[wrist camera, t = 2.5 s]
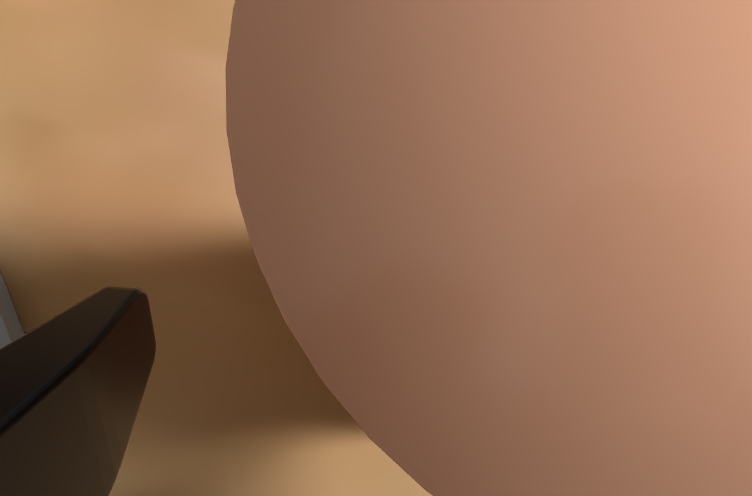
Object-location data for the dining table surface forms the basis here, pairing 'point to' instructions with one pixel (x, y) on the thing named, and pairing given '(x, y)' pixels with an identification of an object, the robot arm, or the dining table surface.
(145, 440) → the dining table surface
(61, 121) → the dining table surface
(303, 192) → the wooden peg
